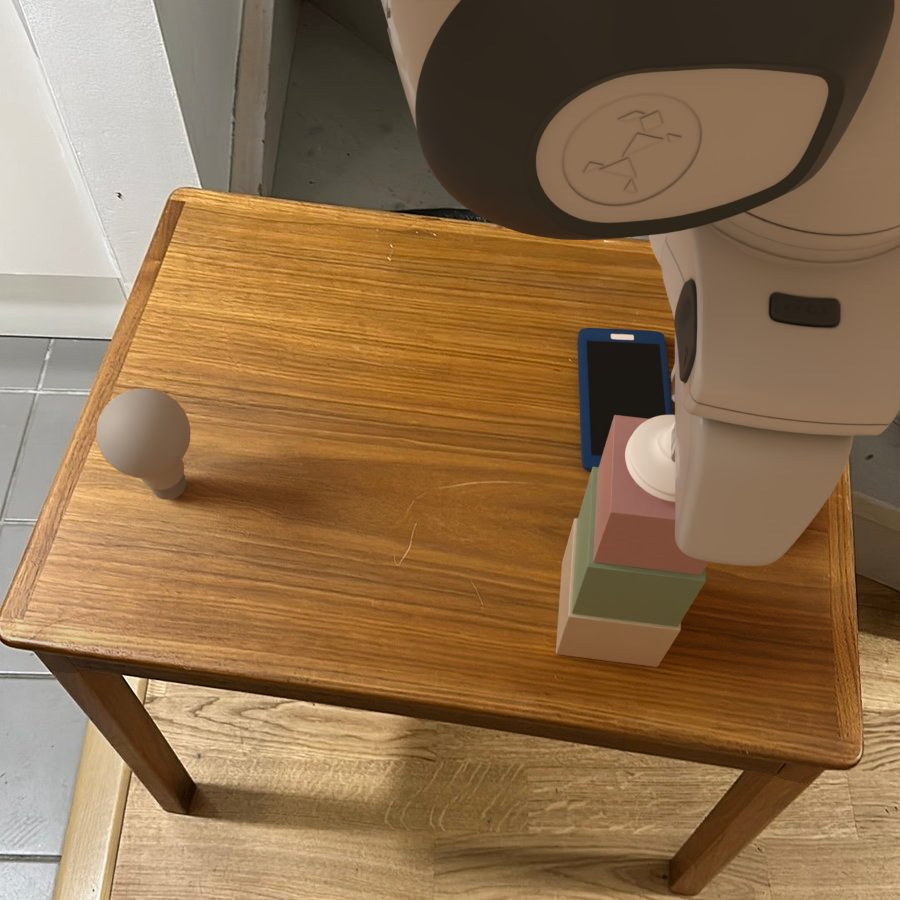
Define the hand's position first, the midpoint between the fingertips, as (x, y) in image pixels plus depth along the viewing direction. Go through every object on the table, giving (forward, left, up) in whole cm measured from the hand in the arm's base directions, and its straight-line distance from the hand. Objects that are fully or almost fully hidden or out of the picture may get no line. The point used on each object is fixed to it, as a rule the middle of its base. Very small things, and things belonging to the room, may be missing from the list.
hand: (687, 422), depth 44 cm
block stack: (0, 0, -24) cm, 24 cm away
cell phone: (+8, +16, -24) cm, 31 cm away
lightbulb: (-28, +18, -25) cm, 42 cm away
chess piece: (0, 0, -4) cm, 4 cm away
